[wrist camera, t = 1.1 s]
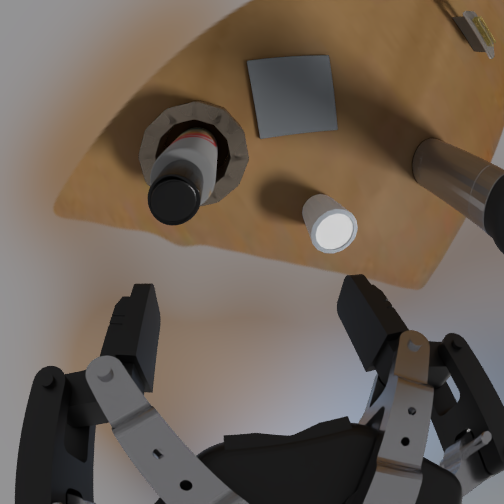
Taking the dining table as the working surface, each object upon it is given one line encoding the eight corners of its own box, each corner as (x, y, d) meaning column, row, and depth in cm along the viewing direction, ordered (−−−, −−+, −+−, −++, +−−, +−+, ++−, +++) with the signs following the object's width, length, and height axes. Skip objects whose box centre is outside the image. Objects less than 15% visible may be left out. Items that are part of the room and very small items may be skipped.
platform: (446, -16, 18) (469, -20, 13) (494, 56, 25) (516, 60, 20) (423, 6, 22) (447, 1, 17) (475, 84, 30) (499, 89, 24)
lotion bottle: (187, 120, 32) (149, 148, 16) (225, 137, 34) (229, 184, 17) (169, 157, 35) (122, 221, 18) (206, 173, 37) (193, 251, 20)
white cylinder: (307, 237, 44) (320, 261, 38) (291, 202, 40) (303, 223, 34) (344, 218, 43) (362, 240, 37) (331, 182, 39) (350, 200, 33)
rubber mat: (327, 55, 29) (328, 55, 28) (336, 129, 35) (337, 129, 34) (246, 61, 29) (246, 60, 28) (259, 138, 35) (260, 138, 34)
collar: (234, 93, 31) (237, 92, 26) (250, 180, 38) (255, 195, 33) (142, 116, 31) (128, 120, 26) (165, 198, 38) (156, 216, 33)
